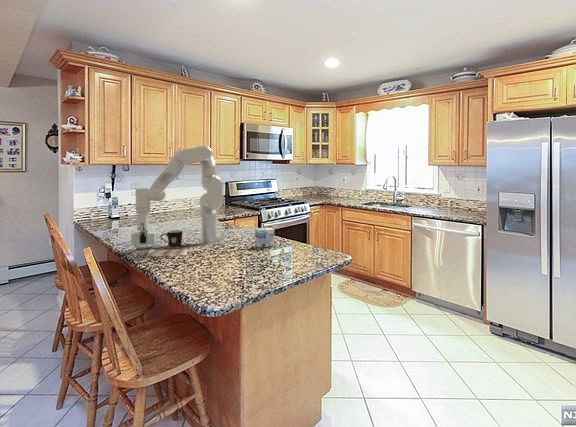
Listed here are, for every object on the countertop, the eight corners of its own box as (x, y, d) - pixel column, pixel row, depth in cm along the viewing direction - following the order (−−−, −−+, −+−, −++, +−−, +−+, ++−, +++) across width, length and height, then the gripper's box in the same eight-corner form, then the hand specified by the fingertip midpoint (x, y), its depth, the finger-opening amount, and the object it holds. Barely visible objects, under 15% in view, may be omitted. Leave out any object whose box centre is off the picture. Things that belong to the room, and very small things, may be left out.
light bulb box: (257, 247, 214) (257, 230, 212) (254, 245, 220) (254, 228, 218) (274, 246, 218) (274, 229, 216) (271, 244, 224) (271, 227, 222)
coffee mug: (185, 247, 212) (185, 230, 211) (176, 250, 204) (176, 233, 203) (169, 245, 216) (169, 229, 214) (160, 248, 208) (159, 231, 206)
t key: (140, 245, 215) (139, 235, 215) (157, 245, 217) (157, 235, 217) (139, 246, 213) (139, 236, 212) (157, 245, 215) (156, 235, 214)
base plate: (187, 251, 201) (187, 248, 201) (186, 257, 188) (186, 254, 187) (150, 252, 197) (150, 250, 197) (146, 259, 183) (146, 256, 183)
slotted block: (156, 242, 206) (155, 231, 205) (154, 244, 200) (154, 233, 200) (133, 242, 204) (133, 232, 203) (131, 244, 198) (131, 234, 197)
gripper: (139, 208, 207) (139, 239, 209) (133, 212, 190) (134, 245, 193) (152, 208, 209) (153, 238, 211) (147, 212, 192) (148, 244, 194)
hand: (144, 241), depth 202 cm, fingers closed on slotted block, 6 cm apart
